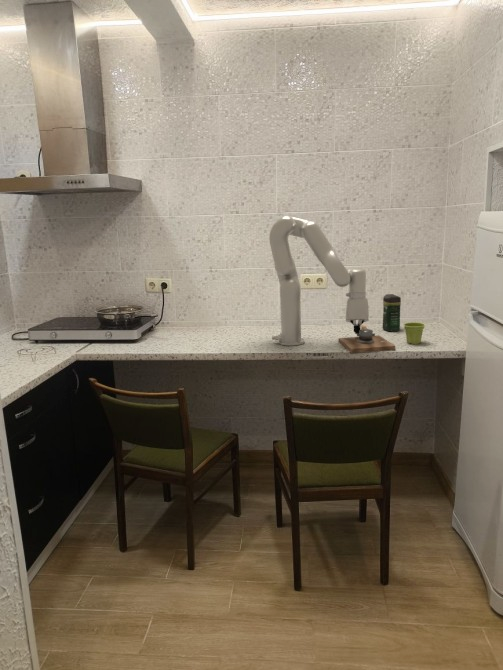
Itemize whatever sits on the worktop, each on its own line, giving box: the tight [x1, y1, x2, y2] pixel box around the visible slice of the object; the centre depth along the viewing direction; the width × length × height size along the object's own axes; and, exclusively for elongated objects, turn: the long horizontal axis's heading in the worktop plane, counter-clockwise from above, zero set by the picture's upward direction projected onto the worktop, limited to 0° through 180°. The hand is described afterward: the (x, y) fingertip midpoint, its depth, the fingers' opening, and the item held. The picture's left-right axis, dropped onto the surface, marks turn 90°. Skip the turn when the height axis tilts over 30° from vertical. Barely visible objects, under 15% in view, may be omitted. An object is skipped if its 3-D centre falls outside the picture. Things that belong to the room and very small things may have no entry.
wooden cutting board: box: [338, 334, 396, 354], centre depth 221 cm, size 20×20×3 cm
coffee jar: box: [382, 293, 402, 333], centre depth 248 cm, size 10×8×19 cm
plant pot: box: [403, 321, 426, 345], centre depth 223 cm, size 9×9×9 cm
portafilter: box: [356, 324, 376, 341], centre depth 225 cm, size 8×16×4 cm, turn 173°
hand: (357, 333), depth 230 cm, fingers closed
